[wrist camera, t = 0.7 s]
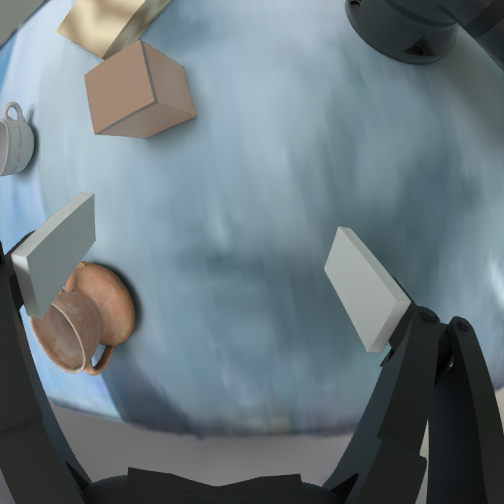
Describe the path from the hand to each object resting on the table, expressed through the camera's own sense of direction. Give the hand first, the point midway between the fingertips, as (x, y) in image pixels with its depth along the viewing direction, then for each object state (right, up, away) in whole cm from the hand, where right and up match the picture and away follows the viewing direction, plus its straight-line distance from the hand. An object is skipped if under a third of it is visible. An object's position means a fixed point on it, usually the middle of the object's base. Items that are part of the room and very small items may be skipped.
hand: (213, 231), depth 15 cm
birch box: (-19, +38, +16) cm, 45 cm away
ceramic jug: (-22, -9, +31) cm, 39 cm away
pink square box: (-10, +19, +20) cm, 29 cm away
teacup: (-41, +21, +26) cm, 53 cm away
